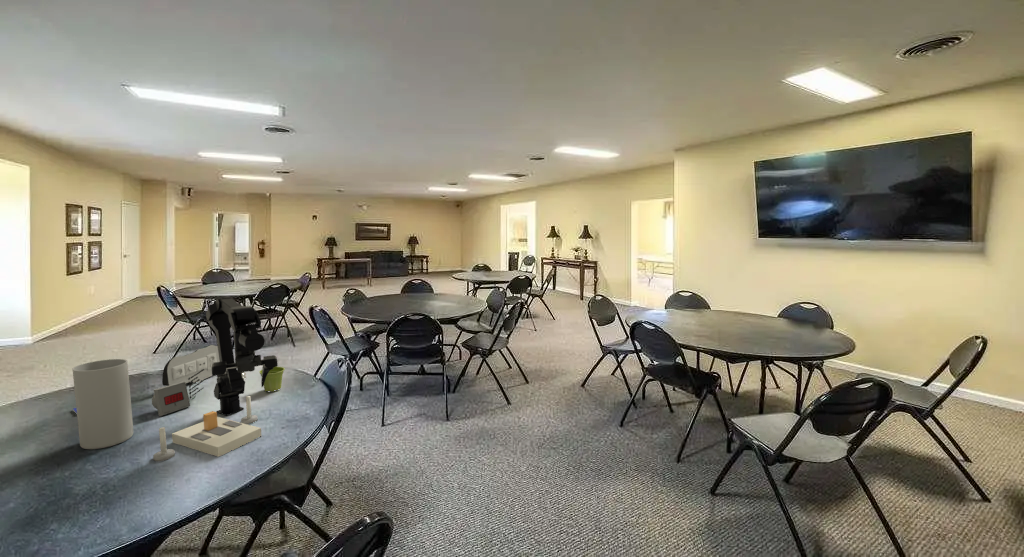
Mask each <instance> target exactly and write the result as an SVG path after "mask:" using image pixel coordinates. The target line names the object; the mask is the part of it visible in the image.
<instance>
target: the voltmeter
mask: <svg viewBox="0 0 1024 557" xmlns="http://www.w3.org/2000/svg"><path fill="white" fill-rule="evenodd" d="M203 370H204V369H203ZM203 370H201V371H200V372H202V371H203ZM200 372H198V373H197V374H199V373H200ZM197 374H194V376H196V375H197ZM194 376H191V378H193V377H194ZM197 378H198V376H197V377H196V378H194V380H195V379H197ZM188 380H190V377H189V378H188ZM199 380H200V379H198V380H197V382H198V381H199ZM192 381H193V380H191V382H190V381H189V382H188V383H189V384H188V388H189V390H188V388H187V383H185V382H179V383H176V384H172V385H169V386H162V387H159V388H155V389H153V396H152V398H151V404H152V407H154V409H155V410H157V413H158V416H159V417H162V416H165V415H167V414H171V413H174V412H176V411H180V410H182V409H183V410H184V409H187V408H188V407H191V403H190V399H192V400H194V399H195V398H196V396H195V395H197V394H198V393H199V392H201V391H202V390H203V389H204V388H205V387H204V386H203V387H201V388H200V389H199V387H197V386H199V385H200V384H201V383H203V382H204V381H205V379H204V380H202V381H200V382H198V383H196V381H195V382H194V383H193V382H192ZM194 384H195V385H194ZM188 391H189V392H188ZM194 392H195V393H194Z"/></svg>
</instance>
